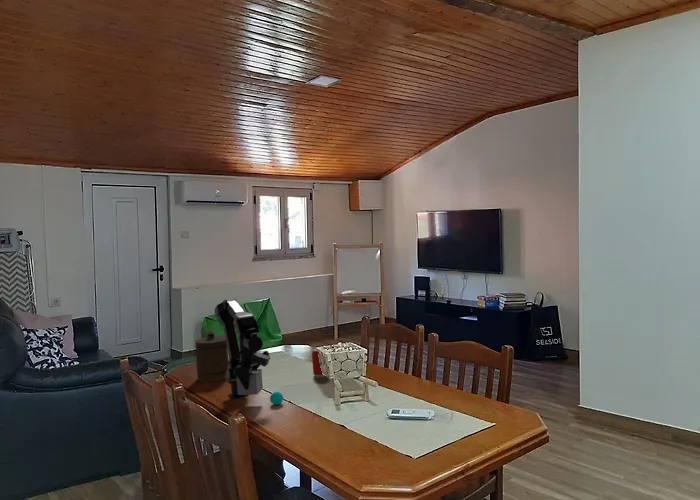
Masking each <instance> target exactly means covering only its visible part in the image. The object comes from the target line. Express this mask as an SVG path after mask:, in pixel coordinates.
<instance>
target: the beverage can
mask: <svg viewBox="0 0 700 500" xmlns="http://www.w3.org/2000/svg"><path fill="white" fill-rule="evenodd" d="M311 358H312V359H311V360H312V373H313V375H314V376H315V377H317V378H321V377H322V378H323V377H325V376H324V375H323V374H322V371H321V368H320V362H319V357H318V351H317V348H314V349H313V350H312V352H311Z"/></svg>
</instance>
